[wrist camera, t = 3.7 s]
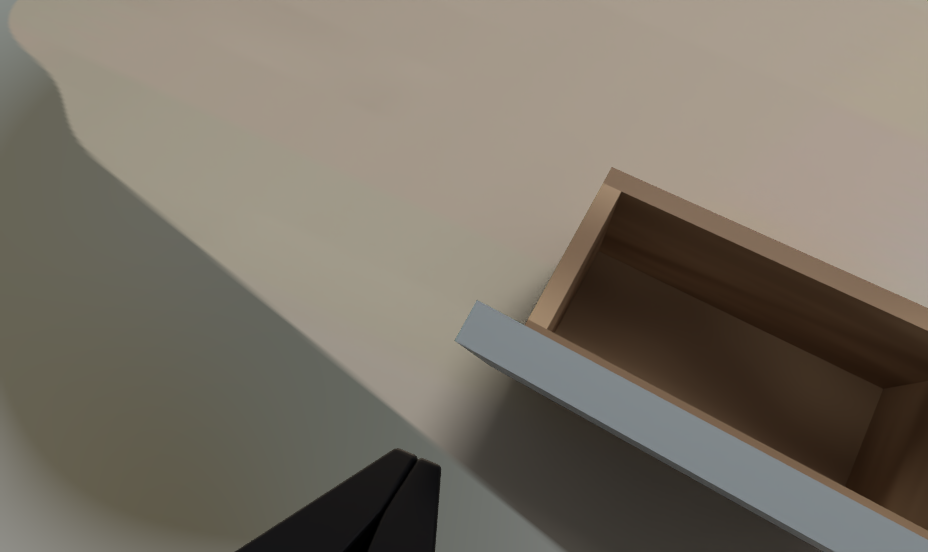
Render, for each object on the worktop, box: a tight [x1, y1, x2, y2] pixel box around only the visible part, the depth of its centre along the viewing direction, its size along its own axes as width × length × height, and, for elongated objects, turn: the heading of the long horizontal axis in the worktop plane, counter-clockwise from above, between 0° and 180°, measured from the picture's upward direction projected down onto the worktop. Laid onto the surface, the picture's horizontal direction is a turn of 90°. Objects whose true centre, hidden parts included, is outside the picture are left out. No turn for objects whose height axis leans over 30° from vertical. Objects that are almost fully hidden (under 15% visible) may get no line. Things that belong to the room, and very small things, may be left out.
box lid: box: [455, 300, 928, 552], centre depth 12 cm, size 6×13×1 cm
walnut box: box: [525, 167, 928, 540], centre depth 19 cm, size 6×12×6 cm, turn 60°
